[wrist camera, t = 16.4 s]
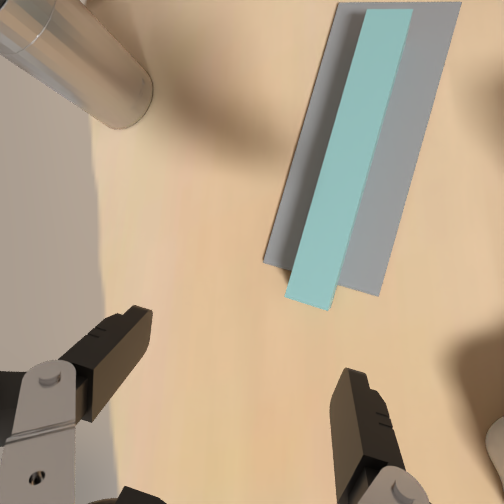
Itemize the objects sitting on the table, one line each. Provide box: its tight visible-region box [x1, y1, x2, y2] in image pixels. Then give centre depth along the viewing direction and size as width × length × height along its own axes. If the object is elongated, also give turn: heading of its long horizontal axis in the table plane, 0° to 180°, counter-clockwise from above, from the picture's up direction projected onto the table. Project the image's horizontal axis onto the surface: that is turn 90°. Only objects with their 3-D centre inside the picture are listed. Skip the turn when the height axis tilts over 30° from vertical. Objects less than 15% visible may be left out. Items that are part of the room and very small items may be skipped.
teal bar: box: [285, 9, 413, 311], centre depth 29 cm, size 4×28×4 cm, turn 163°
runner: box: [263, 2, 462, 297], centre depth 32 cm, size 12×30×1 cm, turn 163°
